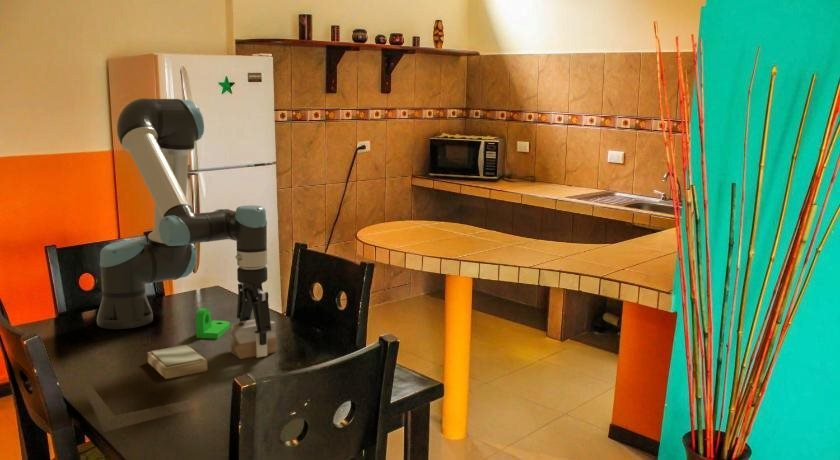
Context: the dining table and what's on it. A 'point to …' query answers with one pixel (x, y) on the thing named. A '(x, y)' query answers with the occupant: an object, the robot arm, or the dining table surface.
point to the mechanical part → (209, 325)
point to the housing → (250, 339)
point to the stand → (177, 361)
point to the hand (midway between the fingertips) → (254, 351)
